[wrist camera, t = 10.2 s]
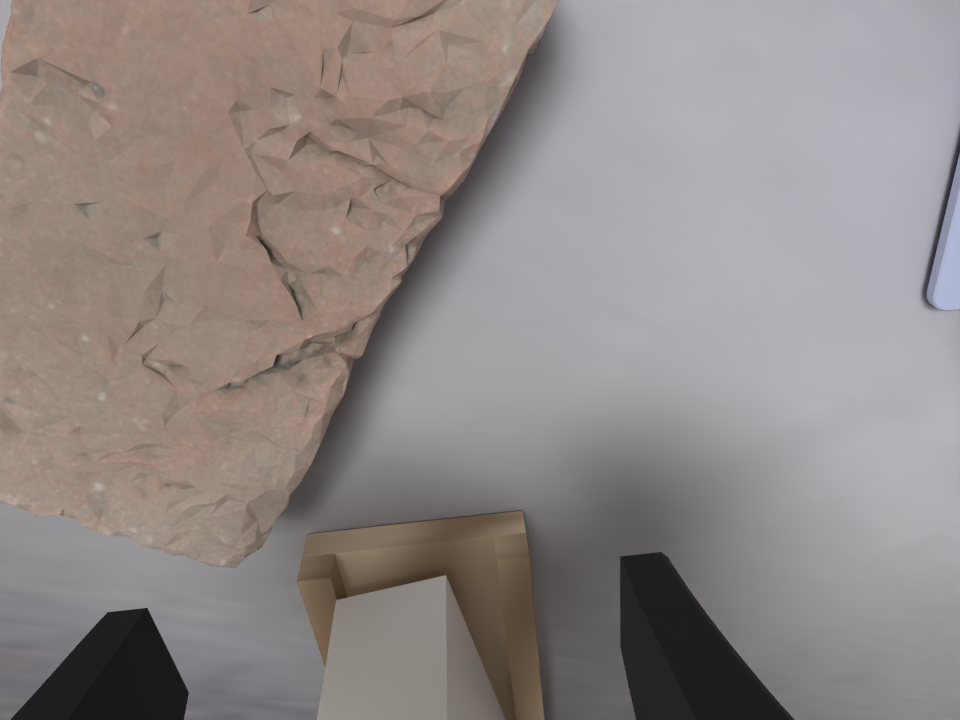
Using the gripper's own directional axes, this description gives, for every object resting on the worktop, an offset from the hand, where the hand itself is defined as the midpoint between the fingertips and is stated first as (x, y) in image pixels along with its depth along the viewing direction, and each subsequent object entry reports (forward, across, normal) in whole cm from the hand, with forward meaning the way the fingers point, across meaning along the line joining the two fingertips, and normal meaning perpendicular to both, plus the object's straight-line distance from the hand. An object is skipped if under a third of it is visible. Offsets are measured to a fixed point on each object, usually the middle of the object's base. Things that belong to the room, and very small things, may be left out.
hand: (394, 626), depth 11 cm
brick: (+10, +4, -4) cm, 12 cm away
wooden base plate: (+10, +1, +12) cm, 16 cm away
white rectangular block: (+8, +1, +13) cm, 15 cm away
